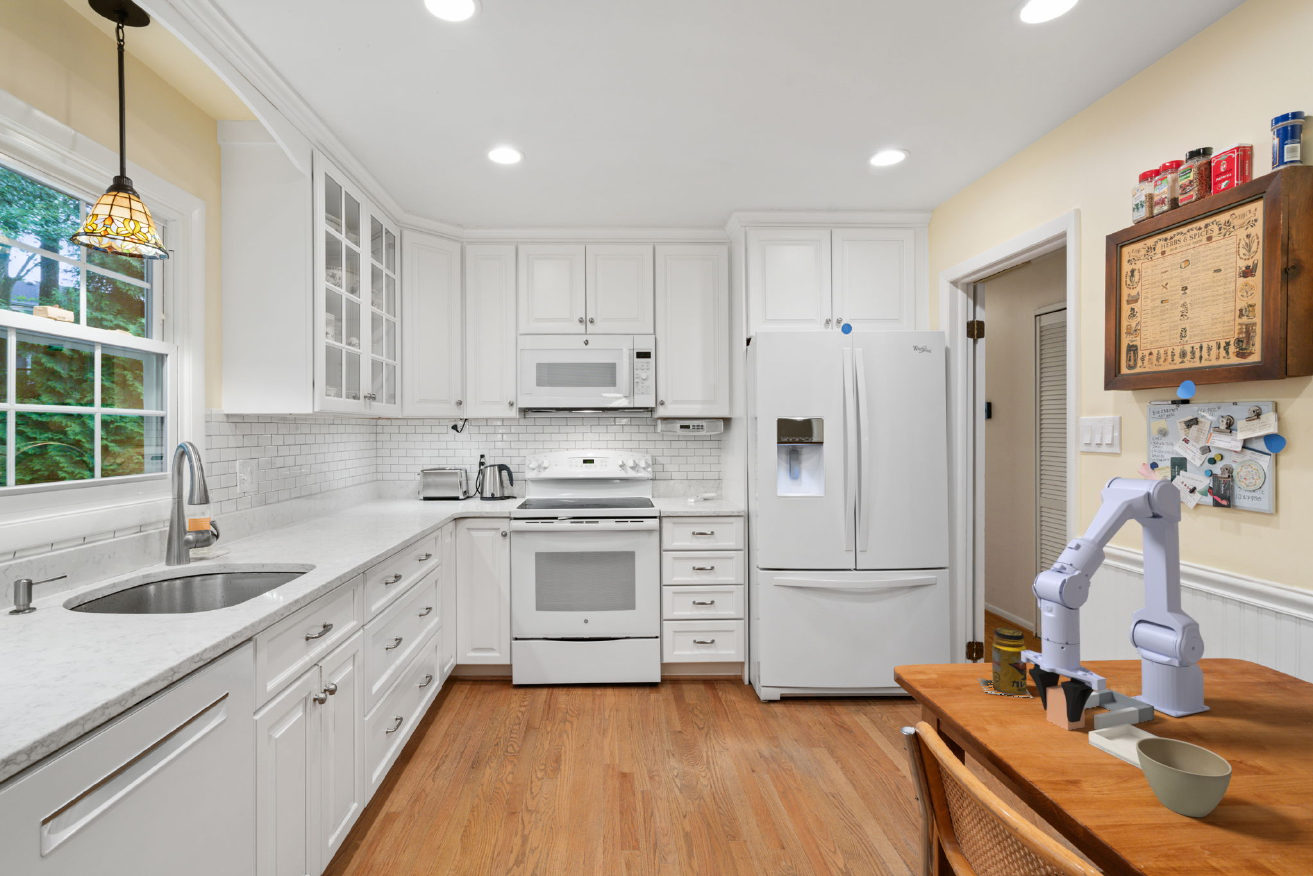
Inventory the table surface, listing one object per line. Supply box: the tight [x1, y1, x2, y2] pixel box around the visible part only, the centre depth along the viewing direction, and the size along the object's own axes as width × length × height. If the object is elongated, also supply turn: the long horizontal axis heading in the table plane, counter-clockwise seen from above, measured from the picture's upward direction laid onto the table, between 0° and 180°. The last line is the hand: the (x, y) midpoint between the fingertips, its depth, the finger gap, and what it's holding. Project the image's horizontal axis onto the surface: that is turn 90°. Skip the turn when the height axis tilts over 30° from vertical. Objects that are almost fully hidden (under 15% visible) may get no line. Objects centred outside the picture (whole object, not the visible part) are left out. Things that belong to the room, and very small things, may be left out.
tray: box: [1088, 724, 1161, 770], centre depth 97 cm, size 9×9×2 cm
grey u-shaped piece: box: [1094, 688, 1155, 723], centre depth 111 cm, size 4×8×2 cm, turn 17°
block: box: [1046, 684, 1086, 731], centre depth 107 cm, size 4×4×6 cm
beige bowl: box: [1136, 736, 1233, 818], centre depth 83 cm, size 10×10×7 cm
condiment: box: [977, 627, 1034, 699], centre depth 122 cm, size 7×8×12 cm
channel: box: [1084, 691, 1139, 730], centre depth 109 cm, size 10×8×2 cm
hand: (1061, 715), depth 107 cm, fingers closed on block, 4 cm apart
